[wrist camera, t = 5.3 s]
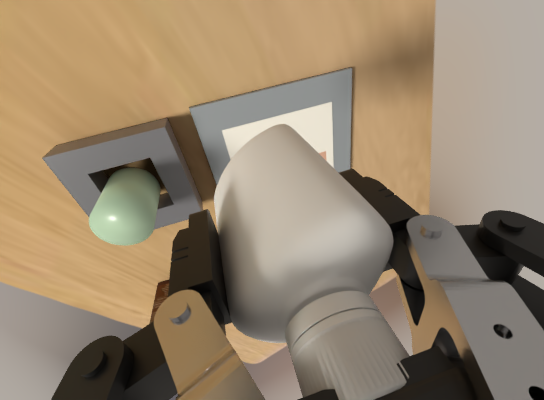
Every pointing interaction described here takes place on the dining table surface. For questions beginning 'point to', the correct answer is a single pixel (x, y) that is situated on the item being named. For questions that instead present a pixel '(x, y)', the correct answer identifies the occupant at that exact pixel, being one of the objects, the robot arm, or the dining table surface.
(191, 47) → the dining table surface
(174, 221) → the button housing
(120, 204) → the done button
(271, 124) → the sketch board
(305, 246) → the eye dropper bottle
